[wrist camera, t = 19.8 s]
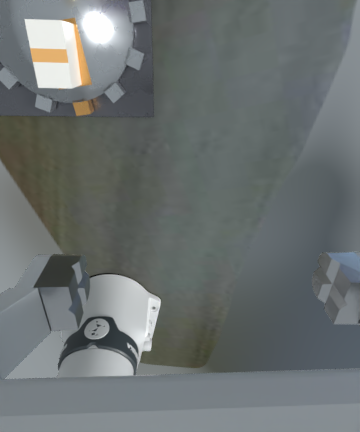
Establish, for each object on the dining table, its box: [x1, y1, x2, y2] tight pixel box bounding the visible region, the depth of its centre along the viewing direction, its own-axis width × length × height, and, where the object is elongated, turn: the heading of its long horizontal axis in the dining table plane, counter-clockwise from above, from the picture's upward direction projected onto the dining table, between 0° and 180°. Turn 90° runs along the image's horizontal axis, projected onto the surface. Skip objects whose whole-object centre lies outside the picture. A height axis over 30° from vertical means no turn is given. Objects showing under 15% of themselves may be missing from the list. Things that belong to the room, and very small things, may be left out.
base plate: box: [0, 0, 154, 117], centre depth 33 cm, size 20×20×1 cm
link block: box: [24, 19, 82, 89], centre depth 30 cm, size 6×4×4 cm, turn 179°
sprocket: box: [0, 0, 147, 116], centre depth 29 cm, size 19×19×8 cm
